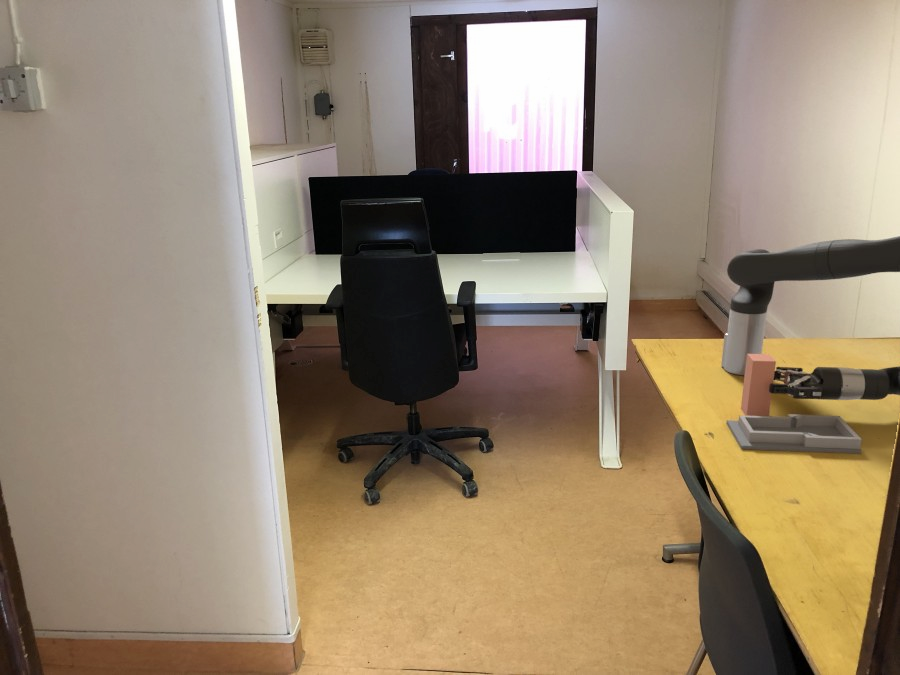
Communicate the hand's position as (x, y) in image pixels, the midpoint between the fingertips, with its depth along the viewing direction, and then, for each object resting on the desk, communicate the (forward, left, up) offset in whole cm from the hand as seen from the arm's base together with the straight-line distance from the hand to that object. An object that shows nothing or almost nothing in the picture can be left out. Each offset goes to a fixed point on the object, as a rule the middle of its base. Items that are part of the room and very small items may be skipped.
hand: (764, 381), depth 170 cm
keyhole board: (+13, -4, -8) cm, 15 cm away
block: (-1, -1, -8) cm, 8 cm away
